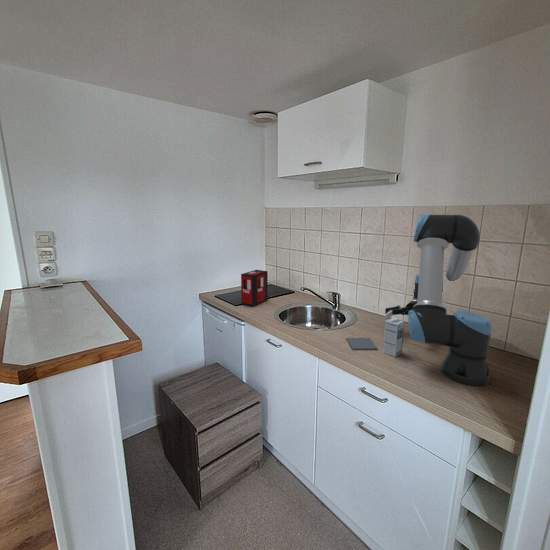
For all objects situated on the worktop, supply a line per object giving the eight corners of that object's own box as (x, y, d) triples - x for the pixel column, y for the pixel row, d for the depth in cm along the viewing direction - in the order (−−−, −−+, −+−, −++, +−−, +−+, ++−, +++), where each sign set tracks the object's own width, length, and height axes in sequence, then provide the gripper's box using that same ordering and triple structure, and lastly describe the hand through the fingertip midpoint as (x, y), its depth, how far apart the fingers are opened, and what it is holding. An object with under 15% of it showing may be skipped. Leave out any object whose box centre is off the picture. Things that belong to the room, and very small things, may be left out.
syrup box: (395, 357, 127) (398, 324, 124) (382, 352, 132) (385, 320, 129) (402, 353, 131) (405, 321, 128) (389, 348, 135) (392, 317, 132)
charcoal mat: (377, 349, 134) (377, 348, 133) (352, 350, 133) (352, 348, 133) (369, 339, 144) (369, 337, 144) (346, 339, 144) (346, 337, 144)
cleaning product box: (256, 298, 208) (256, 269, 204) (267, 300, 204) (267, 271, 200) (241, 304, 195) (241, 274, 190) (253, 307, 190) (252, 275, 186)
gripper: (442, 320, 146) (431, 335, 130) (389, 309, 161) (373, 321, 145) (444, 305, 144) (433, 318, 128) (390, 296, 159) (375, 306, 143)
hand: (401, 320), depth 137 cm, fingers open, 13 cm apart
